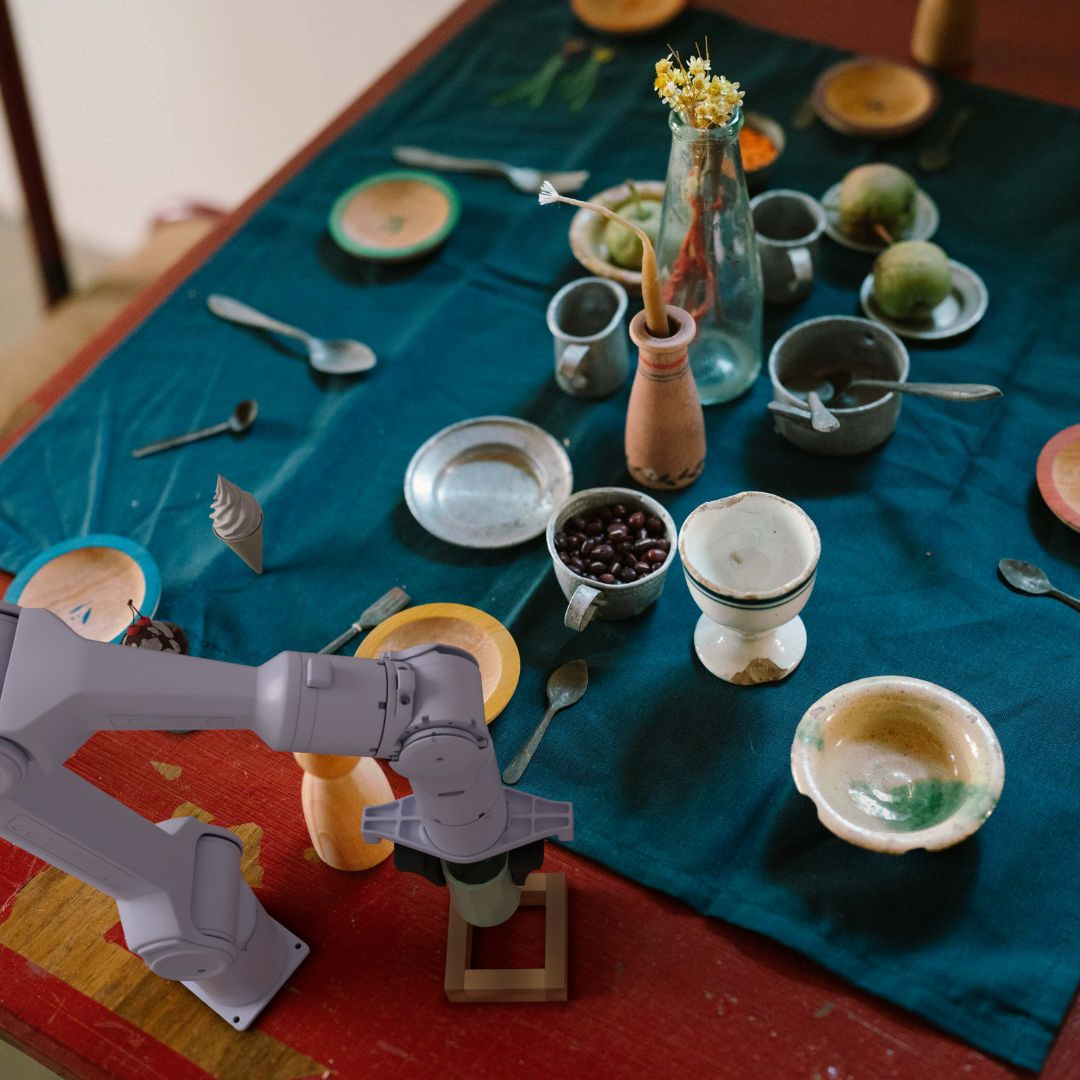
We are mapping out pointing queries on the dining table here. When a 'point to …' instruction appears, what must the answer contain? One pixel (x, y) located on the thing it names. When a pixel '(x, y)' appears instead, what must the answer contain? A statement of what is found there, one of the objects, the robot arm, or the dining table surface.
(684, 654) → the dining table surface
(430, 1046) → the dining table surface
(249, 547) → the ice cream cone
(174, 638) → the sundae
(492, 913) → the cup
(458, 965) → the brown square frame
